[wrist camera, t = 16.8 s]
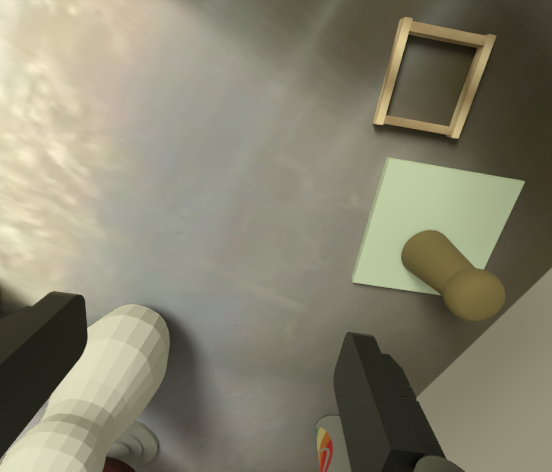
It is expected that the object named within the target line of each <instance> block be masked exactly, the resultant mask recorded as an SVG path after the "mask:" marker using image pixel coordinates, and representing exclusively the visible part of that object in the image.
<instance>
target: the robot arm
mask: <svg viewBox="0 0 552 472" xmlns="http://www.w3.org/2000/svg"><path fill="white" fill-rule="evenodd" d="M87 340H88V333H87V320H86V308H85V299H84V297H83V296H82V295H78V294H71V293H63V292H56V291H53V292H50V293H49V294H47V295H46V296H45V297H44V298H42V299H41V300H40V301H39V302H37V303H36V304H35V305H34V306H32V307H31V306H27V307H25V308H23V309H20V310H18V311H16V312H14V313H12V314H10V315H7V316H5V317H4V318H3V319H1V320H0V459H1V457H2V456H3V455H4V453H5V452H6V451H7V450H8V448H9V447H10V446H11V445H12V443H13V442H14V441H15V440H16V438H17V437H18V436H19V435H20V433H21V432H22V431H23V430H24V428H25V427H26V426H27V425H28V423H29V422H30V421H31V420H32V418H33V417H34V416H35V414H36V413H37V412H38V411H39V409H40V408H41V407H42V406H43V404H44V403H45V402H46V401H47V399H48V398H49V397H50V396H51V394H52V393H53V392H54V391H55V389H56V388H57V387H58V386H59V384H60V383H61V382H62V380H63V379H64V378H65V377H66V375H67V374H68V373H69V372H70V370H71V369H72V368H73V367H74V365H75V364H76V363H77V362H78V360H79V359H80V358H81V356H82V354H83V353H84V350H85V348H86V345H87ZM334 391H335V396H336V401H337V405H338V410H339V415H340V420H341V424H342V429H343V434H344V439H345V443H346V448H347V453H348V458H349V462H350V467H351V472H465V471H464V470H463V469H461V468H460V467H459V466H457V465H456V464H454V463H453V462H451V461H449V460H447V459H446V457H445V455H444V453H443V451H442V449H441V447H440V445H439V443H438V441H437V439H436V437H435V435H434V433H433V431H432V429H431V427H430V425H429V422H428V420H427V419H426V416H425V414H424V412H423V410H422V408H421V406H420V404H419V402H418V401H416V396H415V394H414V392H413V390H412V388H410V384H409V382H408V380H407V378H406V376H405V374H404V372H403V370H402V368H401V367H400V366H399V365H398V364H397V363H396V362H395V361H394V359H393V358H392V357H391V356H390V355H388V354H382V353H381V351H380V349H379V347H378V344H377V342H376V340H375V338H374V336H373V335H368V334H360V333H353V332H348V333H347V334H346V336H345V338H344V342H343V345H342V348H341V351H340V355H339V358H338V361H337V364H336V368H335V372H334Z"/></svg>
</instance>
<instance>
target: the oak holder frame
mask: <svg viewBox="0 0 552 472" xmlns="http://www.w3.org/2000/svg"><path fill="white" fill-rule="evenodd" d="M412 19H413V18H408V17H404V18H402V19H401V20H400V21H399V25H398V29H397V33H396V36H395V40H394V44H393V48H392V52H391V55H390V59H389V63H388V67H387V70H386V74H385V78H384V82H383V85H382V89H381V93H380V97H379V101H378V104H377V108H376V112H375V116H374V119H373V123H372V124H378V125H383V123H384V124H389V125H395V126H400V127H406V128H411V129H417V130H423V131H428V132H434V133H439V134H445V135H446V137H451V138H457V139H459V136H460V133H461V130H462V128H463V125H464V122H465V120H466V117H467V114H468V112H469V109H470V106H471V103H472V101H473V98H474V95H475V93H476V90H477V87H478V85H479V82H480V79H481V76H482V74H483V71H484V68H485V66H486V63H487V60H488V58H489V55H490V52H491V49H492V47H493V44H494V41H495V39H496V36H497V35H492V34H487V35H479V34H474V33H469V32H464V31H459V30H454V29H449V28H444V27H439V26H434V25H429V24H424V23H419V22H414V21H412ZM408 35H413V36H418V37H423V38H428V39H433V40H438V41H443V42H448V43H453V44H458V45H463V46H468V47H473V48H477V50H476V52H475V55H474V58H473V61H472V64H471V66H470V69H469V72H468V75H467V78H466V81H465V83H464V86H463V89H462V92H461V95H460V97H459V100H458V103H457V106H456V109H455V112H454V114H453V117H452V120H451V123H450V126H449V127H448V126H443V125H437V124H432V123H426V122H421V121H415V120H410V119H404V118H398V117H393V116H387V115H386V113H387V109H388V106H389V102H390V98H391V95H392V91H393V88H394V84H395V80H396V77H397V73H398V70H399V66H400V62H401V59H402V55H403V52H404V48H405V44H406V41H407V37H408Z"/></svg>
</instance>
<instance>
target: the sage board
mask: <svg viewBox="0 0 552 472" xmlns="http://www.w3.org/2000/svg"><path fill="white" fill-rule="evenodd" d="M524 183H525V181H521V180H517V179H511V178H505V177H500V176H494V175H488V174H482V173H476V172H471V171H465V170H459V169H453V168H447V167H442V166H436V165H430V164H424V163H418V162H413V161H407V160H401V159H395V158H389V157H387V158H386V161H385V165H384V168H383V171H382V175H381V178H380V182H379V185H378V188H377V192H376V195H375V199H374V202H373V205H372V209H371V212H370V216H369V219H368V223H367V226H366V229H365V233H364V236H363V240H362V243H361V246H360V250H359V253H358V257H357V260H356V264H355V267H354V270H353V274H352V277H351V279H352V282H353V283H360V284H367V285H374V286H381V287H388V288H394V289H401V290H408V291H415V292H422V293H429V294H436V295H441V294H439V293H438V292H437V291H435V290H434V289H433V288H431V287H430V286H429V285H427V284H426V283H425V282H423V281H422V280H421V279H419V278H418V277H417V276H415V275H414V274H413V273H411V272H410V271H408V270H407V269H406V268H405V266H404V265H403V263H402V260H401V253H402V250H403V247H404V245H405V244H406V242H407V241H408V240H409V239H410V238H411V237H412V236H414V235H415V234H417V233H419V232H422V231H426V230H435V231H439V232H441V233H442V234H444V235H445V236H446V237H447V238H448V239H449V240H450V241H451V243H452V244H453V245H454V246H455V247H456V248H457V249H458V250H459V251H460V252H461V253H462V254H463V255H464V256H465V257H466V258H467V259H468V261H469V262H470V263H471V264H472V265H473V266H474V267H475V268H478V269H483V270H484V268H485V266H486V264H487V261H488V259H489V257H490V255H491V253H492V251H493V249H494V247H495V245H496V242H497V240H498V238H499V236H500V234H501V232H502V230H503V228H504V225H505V223H506V221H507V219H508V217H509V215H510V213H511V211H512V209H513V206H514V204H515V202H516V200H517V198H518V196H519V194H520V192H521V189H522V187H523V185H524Z"/></svg>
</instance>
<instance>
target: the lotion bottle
mask: <svg viewBox="0 0 552 472" xmlns="http://www.w3.org/2000/svg"><path fill="white" fill-rule="evenodd" d="M316 440H317V448H318V456H319V464H320V472H351V467H350V462H349V458H348V453H347V448H346V443H345V439H344V434H343V429H342V424H341V420H340V416H335V415H331V416H326V417H324V418H322V419H320V420H319V421H318V423H317V424H316Z"/></svg>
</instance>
